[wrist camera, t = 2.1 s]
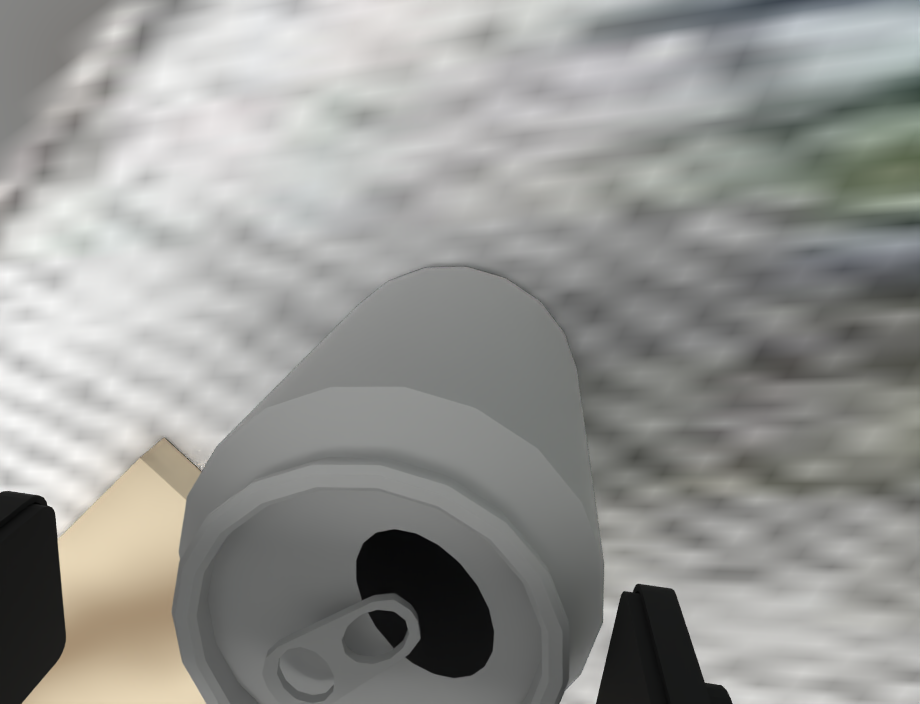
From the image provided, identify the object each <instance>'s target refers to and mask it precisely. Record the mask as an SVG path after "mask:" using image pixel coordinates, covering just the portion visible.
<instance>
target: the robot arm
mask: <svg viewBox="0 0 920 704" xmlns="http://www.w3.org/2000/svg"><path fill="white" fill-rule="evenodd" d="M65 643H66V629H65V618H64V607H63V595H62V584H61V573H60V562H59V551H58V540H57V529H56V518H55V512H54V510H53V508H52V507H50V506H47V502H46V500H45V499H44V498H43V497H41V496H38V495H32V494H25V493H18V492H11V491H4V492H1V493H0V704H22V703H23V701H24V700H25V699H26V698H27V697H28V695H29V694H30V693H31V692H32V691H33V690H34V688H35V687H36V686H37V685H38V684H39V683H40V681H41V680H42V679H43V678H44V677H45V675H46V674H47V673H48V672H49V671H50V670H51V668H52V667H53V666H54V665H55V664H56V663H57V661H58V660H59V658H60V656H61V655H62V653H63V650H64V647H65ZM596 704H732V701H731V698H730V696H729V694H728V692H727V690H726V689H725V688H724V687H723V686H722V685H716V684H709V683H705V682H704V679H703V676H702V673H701V670H700V667H699V663H698V660H697V657H696V654H695V651H694V648H693V645H692V642H691V639H690V636H689V633H688V630H687V627H686V624H685V621H684V618H683V614H682V611H681V608H680V605H679V602H678V599H677V596H676V594H675V591H674V590H673V589H670V588H663V587H656V586H649V585H642V584H637V585H636V586H635V588H634V591H633V593H632V592H625V591H624V592H623V593H622V595H621V598H620V602H619V606H618V611H617V615H616V619H615V624H614V628H613V632H612V637H611V641H610V645H609V650H608V654H607V658H606V663H605V667H604V671H603V676H602V680H601V684H600V689H599V693H598V697H597V702H596Z"/></svg>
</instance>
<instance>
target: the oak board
mask: <svg viewBox="0 0 920 704" xmlns="http://www.w3.org/2000/svg"><path fill="white" fill-rule="evenodd" d="M200 474H201V471H200V470H199V469H198V468H197V467H195V466H194V465H193V464H192V463H191V462H190V461H189V460H188V459H187V458H186V457H185V456H184V455H182V454H181V453H180V452H179V451H178V450H177V449H176V448H175V447H174V446H173V445H172V444H171V443H169V442H168V441H167V440H166V439H165V438H163V439H162V440H161V441H159V442H158V443H157V444H156V445H155V446H153V447H152V448H151V449H150V450H149V451H147V452H146V453H145V454H144V455H143V456H142V457H140V458H139V459H138V460H137V461H136V462H135V463H134V464H133V465H132V466H131V467H130V468H129V469H128V470H127V471H126V472H125V473H124V474H123V475H122V476H121V477H120V478H119V479H118V480H117V481H116V482H115V483H114V484H113V485H112V486H111V487H110V488H109V489H108V490H107V491H106V492H105V493H104V494H103V495H102V496H101V497H100V498H99V499H98V500H97V501H96V502H95V503H94V504H93V505H92V506H91V507H90V508H89V509H88V510H87V511H86V512H85V513H84V514H83V515H82V516H81V517H80V518H79V519H78V520H77V521H76V522H75V523H74V524H73V525H72V526H71V527H70V528H69V529H68V530H67V531H66V532H65V533H64V534H63V535H62V536H61V537H60V538H59V539H58V551H59V562H60V573H61V584H62V595H63V607H64V618H65V629H66V643H65V647H64V650H63V653H62V655H61V656H60V658H59V660H58V661H57V663H56V664H55V665H54V666H53V667H52V668H51V670H50V671H49V672H48V673H47V674H46V675H45V677H44V678H43V679H42V680H41V681H40V683H39V684H38V685H37V686H36V687H35V688H34V690H33V691H32V692H31V693H30V694H29V695H28V697H27V698H26V699H25V700H24V701H23V703H22V704H206V702H205V701H204V699H203V697H202V696H201V694H200V692H199V690H198V689H197V687H196V685H195V684H194V682H193V680H192V678H191V677H190V675H189V673H188V671H187V670H186V668H185V666H184V665H183V663H182V660H181V655H180V650H179V645H178V641H177V636H176V631H175V627H174V622H173V617H172V612H171V611H172V604H173V598H174V592H175V585H176V579H177V573H178V566H179V561H180V557H179V552H178V551H179V545H180V538H181V532H182V525H183V519H184V513H185V506H186V500H187V496H188V494H189V492H190V491H191V489H192V487H193V485H194V484H195V482H196V480H197V479H198V477H199V475H200Z"/></svg>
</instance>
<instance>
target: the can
mask: <svg viewBox="0 0 920 704" xmlns="http://www.w3.org/2000/svg"><path fill="white" fill-rule="evenodd" d="M178 552H179V557H180V561H179V566H178V573H177V579H176V585H175V592H174V598H173V604H172V611H171V612H172V617H173V622H174V627H175V631H176V636H177V641H178V645H179V650H180V655H181V660H182V663H183V665H184V666H185V668H186V670H187V671H188V673H189V675H190V677H191V678H192V680H193V682H194V684H195V685H196V687H197V689H198V690H199V692H200V694H201V696H202V697H203V699H204V701H205V702H206V704H559V703H560V701H561V699H562V696H563V694H564V691H565V690H566V689H567V688H568V687H569V686H570V685H571V684H572V683H573V682H574V681H575V680H576V679H577V678H578V677H579V676H580V675H581V672H582V670H583V668H584V665H585V663H586V661H587V658H588V656H589V654H590V651H591V649H592V647H593V644H594V642H595V640H596V637H597V635H598V633H599V630H600V628H601V626H602V623H603V590H604V559H603V552H602V545H601V538H600V531H599V523H598V516H597V509H596V502H595V495H594V487H593V480H592V473H591V466H590V459H589V452H588V444H587V437H586V430H585V423H584V416H583V409H582V401H581V394H580V387H579V380H578V373H577V368H576V365H575V362H574V359H573V356H572V353H571V350H570V348H569V345H568V342H567V339H566V336H565V333H564V332H563V330H562V329H561V328H560V327H559V325H558V324H557V323H556V321H555V320H554V319H553V318H552V316H551V315H550V314H549V312H548V311H547V310H546V308H545V307H544V306H543V305H542V303H541V302H540V301H539V300H537V299H536V298H534V297H533V296H531V295H530V294H528V293H527V292H525V291H524V290H523V289H521V288H520V287H518V286H517V285H515V284H514V283H512V282H511V281H509V280H508V279H506V278H503V277H500V276H496V275H493V274H490V273H486V272H483V271H479V270H476V269H473V268H469V267H430V268H423V269H420V270H417V271H414V272H412V273H409V274H406V275H403V276H400V277H398V278H395V279H392V280H389V281H387V282H386V283H385V284H384V285H382V286H381V287H380V288H379V289H377V290H376V291H375V292H374V293H372V294H371V295H370V296H369V297H367V298H366V299H365V300H364V301H362V302H361V303H360V304H358V305H357V306H356V307H355V308H354V309H353V310H352V311H351V312H350V313H349V314H348V315H347V316H346V317H345V318H344V319H343V320H342V321H341V322H340V323H339V324H338V325H337V326H336V327H335V328H334V329H333V330H332V331H331V332H330V333H329V334H328V335H327V336H326V337H325V338H324V339H323V340H322V341H321V342H320V343H319V344H318V345H317V346H316V347H315V348H314V349H313V350H312V351H311V352H310V353H309V354H308V355H307V356H306V357H305V358H304V359H303V360H302V361H301V362H300V363H299V364H298V365H297V366H296V367H295V368H294V369H293V370H292V371H291V372H290V374H289V375H288V376H287V377H286V378H285V379H284V380H283V381H282V382H281V383H280V384H279V385H278V386H277V387H276V388H275V389H274V390H273V391H272V392H271V393H270V394H269V395H268V396H267V397H266V398H265V399H264V400H263V401H262V402H261V403H260V404H259V405H258V406H257V407H256V408H255V409H254V410H253V411H252V412H251V413H250V414H249V415H248V416H247V417H246V418H245V419H244V420H243V421H242V422H241V423H240V424H239V425H238V426H237V427H236V428H235V429H234V430H233V431H232V432H231V433H230V434H229V435H228V436H227V437H226V438H225V439H224V440H223V441H222V442H221V443H220V444H219V445H218V446H217V447H216V448H215V450H214V452H213V453H212V455H211V457H210V458H209V460H208V462H207V464H206V465H205V467H204V469H203V470H202V472H201V474H200V475H199V477H198V479H197V480H196V482H195V484H194V485H193V487H192V489H191V491H190V492H189V494H188V496H187V500H186V506H185V513H184V519H183V525H182V532H181V538H180V545H179V551H178Z"/></svg>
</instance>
